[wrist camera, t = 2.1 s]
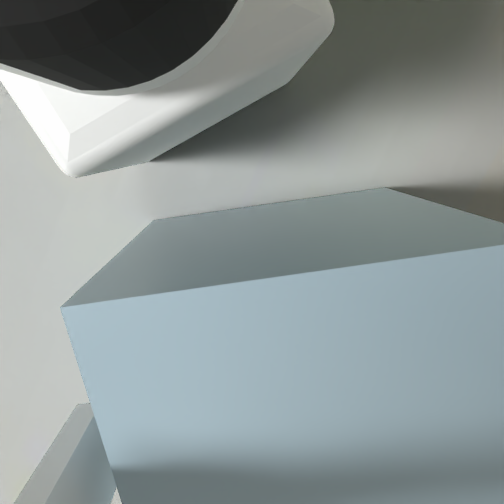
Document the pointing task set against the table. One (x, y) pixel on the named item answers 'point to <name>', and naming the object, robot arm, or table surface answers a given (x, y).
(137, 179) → the table surface
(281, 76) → the medicine bottle
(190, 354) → the pale blue cube
